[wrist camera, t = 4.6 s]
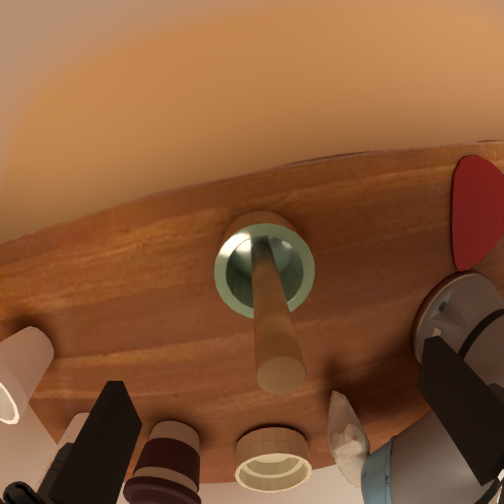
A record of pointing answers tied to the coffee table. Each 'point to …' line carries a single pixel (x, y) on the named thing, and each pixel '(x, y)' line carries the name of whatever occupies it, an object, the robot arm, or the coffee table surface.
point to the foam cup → (22, 370)
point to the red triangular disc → (476, 210)
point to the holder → (284, 251)
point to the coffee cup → (167, 467)
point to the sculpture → (346, 438)
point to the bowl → (272, 460)
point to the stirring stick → (273, 328)
